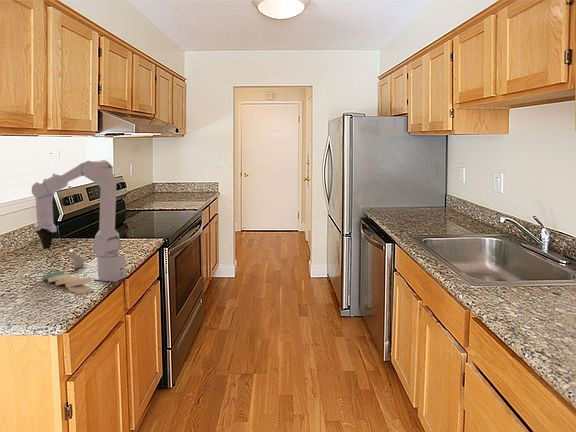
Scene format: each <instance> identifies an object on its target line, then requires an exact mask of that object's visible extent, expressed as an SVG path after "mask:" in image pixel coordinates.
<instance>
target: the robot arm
mask: <svg viewBox="0 0 576 432" xmlns="http://www.w3.org/2000/svg"><path fill="white" fill-rule="evenodd" d="M51 175H52V176H51V177H48V178H44V179H43V180H42V182H39V181H38V182H37V181H36V182H35V183H34V184H32V186H31V194H32V196H34V198H35V209H36V222H34V226H33V228H35V229H39V230H36V234H37V235H38V237H39V238H40V239H39V240H40V243H41V246H42V248H43V250H47V249H51V247H52V241H53V237H54V235H55V234H56V233H57V232H58V230H57V229H58V227H57V226H56V225H55V223H54V209H53V200H54V195H55V194H56V193H57V192H59V191H60V190H62V189H65V188H67V187H68V185H69V182H72V181H73V180H76V179H78V178H81V177H83V176H84V177H85V178H87V179H88V180H90V181H92V182H94V183H96V184H97V186H99V188H100V193H99V194H100V195H99V224H98V225H99V227H98V229H99V230H98V231H97V232H96V234H95V236H94V241H93V243H92V250H93V253H94V254H95V256H96V258H97V259H96V262H97V276H96V277H95V278H93V281H103V282H118V281H120V280H122V279H124V278H126V277H127V275H126V274H127V273H126V259H125V257H124V256H122V255H119V250H120V249H121V248H122V241H121V238H120V233H119V232H118V231H117V230H116V210H117V209H116V208H117V204H116V203H117V181H116V177H115V174H114V166H113V165H112V164H111V163H110V162H109V161H107V160H105V159H100V160H87V161H84V162H81V163H79V164H78V165H76V166H75V167H73V168H71V169H70V170H68V171H67V172H65V173H61V172H60V173H57V172H54V173H53V174H51Z"/></svg>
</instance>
